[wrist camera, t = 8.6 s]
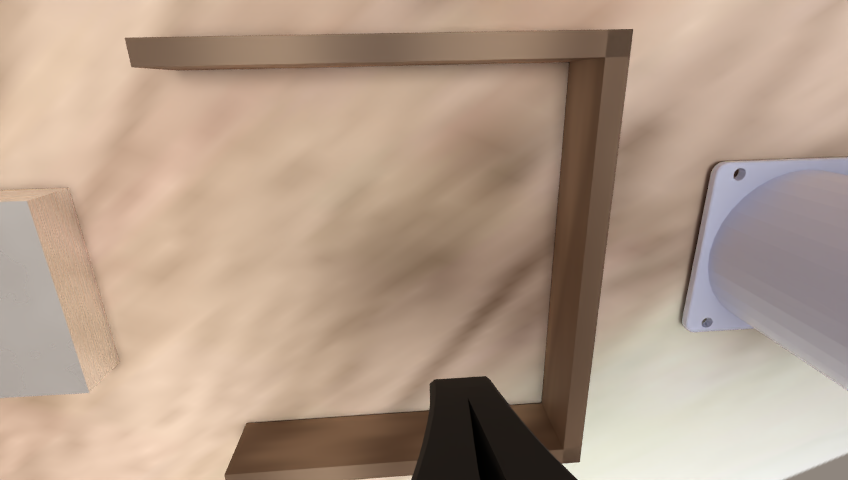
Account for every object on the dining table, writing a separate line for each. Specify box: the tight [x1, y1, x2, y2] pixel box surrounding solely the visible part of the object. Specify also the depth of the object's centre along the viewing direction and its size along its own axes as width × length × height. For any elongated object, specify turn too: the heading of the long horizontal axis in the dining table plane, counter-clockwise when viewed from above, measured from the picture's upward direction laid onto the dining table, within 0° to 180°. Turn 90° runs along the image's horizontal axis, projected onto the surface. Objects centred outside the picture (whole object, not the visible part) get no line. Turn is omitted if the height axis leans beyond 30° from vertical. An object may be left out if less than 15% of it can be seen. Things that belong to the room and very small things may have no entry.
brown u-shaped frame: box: [125, 29, 633, 480], centre depth 18 cm, size 15×18×3 cm
